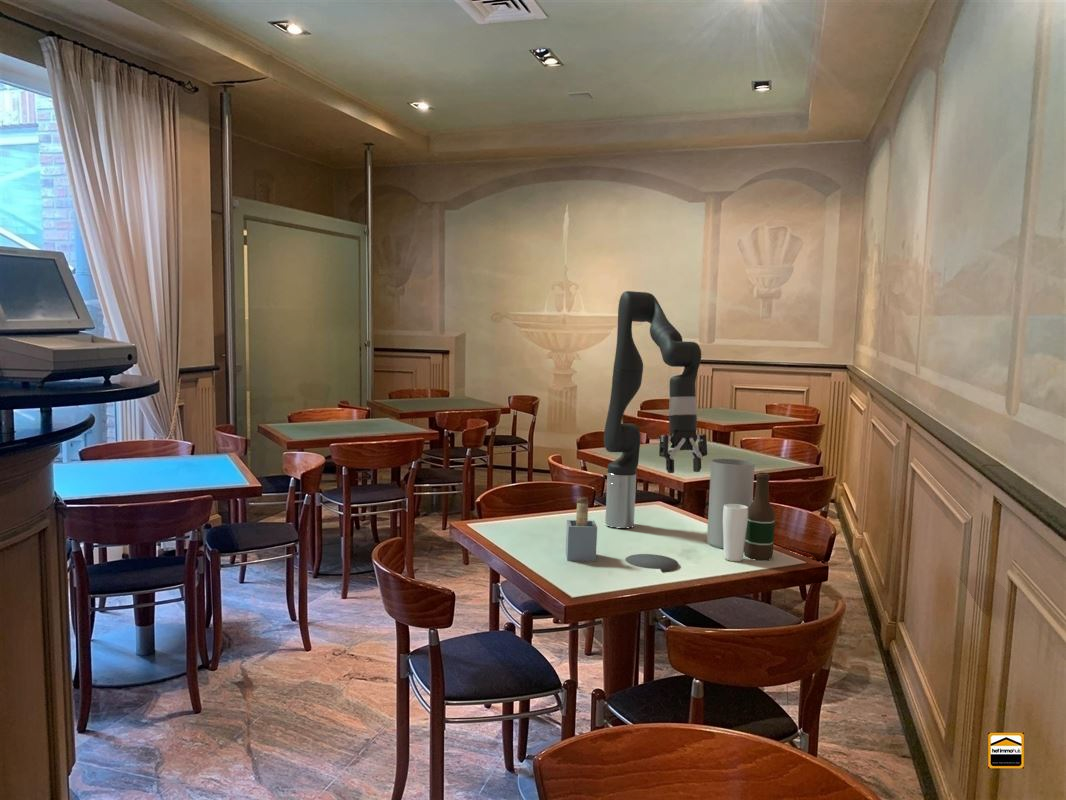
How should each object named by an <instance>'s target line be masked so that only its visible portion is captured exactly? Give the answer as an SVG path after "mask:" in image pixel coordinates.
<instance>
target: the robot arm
mask: <svg viewBox="0 0 1066 800" xmlns="http://www.w3.org/2000/svg"><path fill="white" fill-rule="evenodd" d="M617 309H618V310H617V333H616V346H615V347H616V348H615V355H614V362H613V369H612V380H611V388H610V389H611V391H610V397H609V399H610V400H609V406H608V411H607V417H606V419H605V420H606V421H605V425H604V431H603V445H604V448H605V450H606V451H607V452H609V453H621V455H620V456H619V457H618V458H616V459H615V460H613V461H611V462H609V463H608V465H607V473H606V474H607V476H606V477H607V479H606V496H605V497H606V499H605V501H606V503H605V520H604V521H605V522H604V523H606V524H607V525H609V526H612V527H620V528H627V527H632V526H634V527H635V508H636V507H635V505H636V490H637V489H636V485H637V469H638V465H639V459H640V450H641V449H640V447H641V432H640V431H641V430H640V428H639V427H638V425H637V424H635V423H622V421H623V418H624V413H625V411H626V409H627V407H628V405H629V404H630V403H631V402H632V400H633V399H634V397H635V396H636V394H637V393H638V392H639V390H640V388H641V386H642V381H643V372H644V361H643V360H642V356H641V354H640V352H639V350H638V348H637V346H636V343H635V341H634V339H633V332H632V329H633V327H632V326H633V322H636V323H637V322H639V323H646V322H647V323H649V324H650V326H649V336H650V337H651V340H652V341H653V342H654V344H656V346H657V347H658V348H659V349H660V350H659V351H660V353H661V357H662V361H663V363H665V364H666V365H668V366H669V367H674V368H675V367H677V368H683V371H682V373H681V374H678V375H674V376H671V377H670V379H669V403H668V419H669V420H668V424H669V425H668V428H669V435H668V434H661V435H660V436H659V451H658V453H659V454H658V455H659V457H660V458H661V457H662V458H664V459H665V469H666V472H667V474H674V473H675V459H674V458H675V456H676V454H678V453H679V451H688V452H689V453H690V454H691V455H692V457H693V458H692V463H693V464H692V469H693V471H692V472H694V473H700V472H701V470H702V458H703V457H707V456H708V444H707V443H708V442H707V434H704V433H703V434H702V433H701V434H700V433H699V434H697V429H698V415H697V413H698V412H697V411H698V409H697V408H698V407H697V399H696V382H697V376H698V371H699V368H700V364H701V360H702V349H701V347H700V345H699V343H697V342H695V341H683V337H682V334H681V333H680V331H678V329H676V327H675V326H674V325H673V324H671V322H670V321H669V319H668V318H667V316H666V314H665V312H664V310H663V308H662V307H661V305H660V303H659V301H658V299H657V298H656V296H655V295H653V294H652V293H651V292H646V291H634V290H633V291H631V290H627V291H624V292H622V293H621V295H620V298H619V300H618V307H617ZM696 442H697V444H696ZM669 443H671V444H670V445H669ZM632 528H633V527H632Z"/></svg>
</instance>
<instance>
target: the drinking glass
mask: <svg viewBox="0 0 1066 800" xmlns="http://www.w3.org/2000/svg"><path fill="white" fill-rule="evenodd" d="M747 524H748V507H747V506H744V505H739V504H725V505H724V508H723V547H724V549H723V558H724V560H725V561H728V560H729V562H735V561H737V562H741V561H743V559H744V545H745V538H746V531H747Z"/></svg>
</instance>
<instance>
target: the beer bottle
mask: <svg viewBox="0 0 1066 800" xmlns="http://www.w3.org/2000/svg"><path fill="white" fill-rule="evenodd" d="M755 478H756V483H755V490H754V491H755V492H754V496H753V502H752V504H751V505H750V506H749V508H748V524H747V531H746V538H745V547H744V552H743V556H744V557H746V558H747V557H748V558H747V559H749V558H750V559H749V560H753V559H755V560H754V561H758V560H768V561H770V560H771V558H773V554H774V543H775V542H774V541H775V539H774V538H775V523H776V516H775V515H776V514H775V510H774V507H773V506H772V504H771V502H770V494H769V493H770V490H769V489H770V488H769V487H770V485H769V483H770V482H769V481H770V478H771V475H770V474H769V473H768V472H757V473H756V474H755ZM769 559H770V560H769Z"/></svg>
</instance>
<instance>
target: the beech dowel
mask: <svg viewBox="0 0 1066 800" xmlns="http://www.w3.org/2000/svg"><path fill="white" fill-rule="evenodd" d="M589 501H590V500H589V498H588V497H577V498H576V519H575V520H576V526H587V521H589V520H588V518H589V517H588V516H589Z"/></svg>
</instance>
